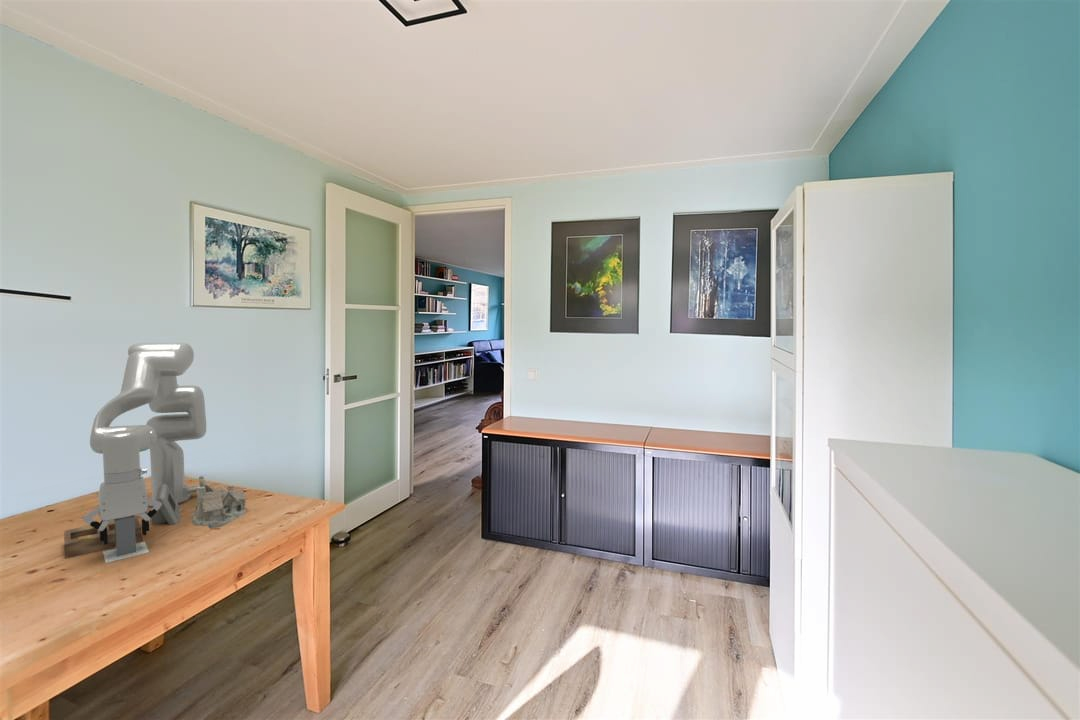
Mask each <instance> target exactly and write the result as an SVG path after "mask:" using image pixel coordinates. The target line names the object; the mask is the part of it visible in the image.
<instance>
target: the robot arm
mask: <svg viewBox="0 0 1080 720" xmlns="http://www.w3.org/2000/svg"><path fill="white" fill-rule="evenodd" d="M194 353H195V352H194V350H193V348H192V346H191V345H190V344H188V343H184V342H138V343H135V344H134V343H133V344H132V345H130V346H129V347H128V349H127V355H128V357H127V359H126V364H125V371H124V373H123V378H122V379H123V380H122V384H121V389H120V393H119V394H118V395H116V396H115V397H113V398H112V399H111V400H109V401H108V402H107V403H106V404H104V405H103V406H102V407H101V408H100V410H99V411H97V414H96V415H95V417H94V420H93V424H92V428H91V430H90V431H91V432H90V437H89V446H90V448H91V450H92V452H94V453H96V454H102V459H103V461H102V462H103V481H104V482H101V483H100V485H99V492H98V506H97V507H95V508H94V509H93V510H91V511H89V513H87V514H86V515H85V516H83V518H82V521H83V522H85V523H86V524H87V525H88V526H92V527H94V528H96V529H98V530H99V531H100V542H101V541H104V545H106V544H108V538H107V528H106V526H107V524H108V523H109V521H114V520H115V519H120V518H125V517H130V516H138V515H139V516H140V517H141V518H142V519H141V528H142V536H144V537H145V536H148V535H147V532H149V531H150V521H151V519H152V516H153V515H154V514H155V513H156V512H157V510H158V509H159V508H160V507H161V506H162V503H161V502H159V501H157V500H156V496H157V492H158V488H159V487H160V486H161V485H163V484H166V485H168V487H169V489H170V491H171V492H172V494H173V496H174V498H175V500H176V502H177V503H178V505H179V504H181V503H185V502H187V501H189V500H190V499H191V493H196V491H197V489H198V488H199V487H200V485H198V486H196V485H192V486H187V485H186V483H185V482H186V481H185V480H186V479H185V458H184V457H185V452H184V450H183V448H182V447H181V446H180V444H178V443H177V442H178V441H190V440H191V441H192V440H199V439H201V438H203V437H204V436H205V435H206V433H207V415H206V405H205V395H204V391H203V390H202V388H200V386H197V385H191V384H190V385H179V384H178V380H177V377H178V376H182V375H183V374H184V373H185V372H186V371H188V369H189V368H190V367H191V365H192V364H193V361H194V357H195V354H194ZM147 404H148V407H149V409H150V410H151V411H152V412H154V413H155V414H156V413H158V414H161V415H156V416H153V417H150V418H149V419H148V420H146V421H147V422H146V424H137V425H135V424H134V425H133V424H132V425H116V426H111V425H112V423H113V421H115V419H117V418H118V417H119V416H121V415H123V414H125V413H127V412H130V411H132V410H135V409H137V408H139V407H142V406H145V405H147ZM170 413H174V414H170ZM175 413H178V414H175ZM179 413H180V414H179ZM147 450H149V455H150V457H149V458H150V473H151V474H150V477H151V497H148V491H147V486H146V481H145V478H144V476H142V475H144V474H148V468H141V461H140V460H141V458H140V456H141V455H140V453H141V452H145V451H147ZM149 507H150V508H151V507H152V508H151V509H150V510H149ZM148 510H149V511H148ZM97 515H98V516H99V518H100V522H99V521H97V520H95V519H94V517H96V516H97Z"/></svg>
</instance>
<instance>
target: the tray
mask: <svg viewBox="0 0 1080 720" xmlns="http://www.w3.org/2000/svg"><path fill="white" fill-rule="evenodd" d="M102 553H103V558H104V563H105V564H107V563H111V562H116V561H119V560H125V559H127V558H132V557H135V556H139V555H143V554H147V553H149V548H148V546H147V543H146V541H139V542H136V552H133V553H129V554H125V555H121V556H117V554H116V547H114V548H112V549H111V548H110V549H106V550H102Z"/></svg>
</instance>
